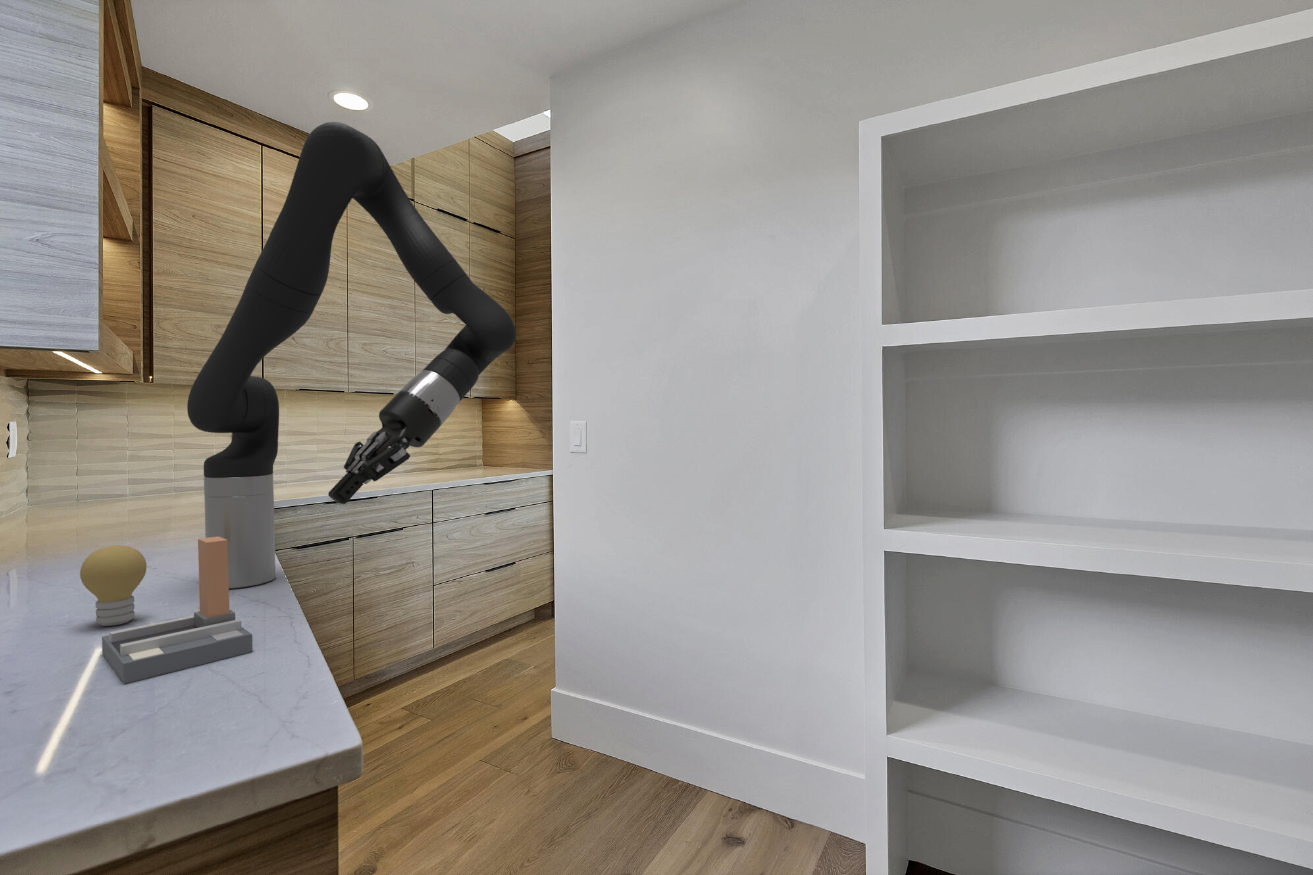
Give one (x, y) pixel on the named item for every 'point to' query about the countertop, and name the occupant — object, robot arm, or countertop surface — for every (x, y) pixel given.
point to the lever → (213, 582)
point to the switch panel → (172, 647)
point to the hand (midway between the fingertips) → (335, 499)
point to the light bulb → (113, 582)
